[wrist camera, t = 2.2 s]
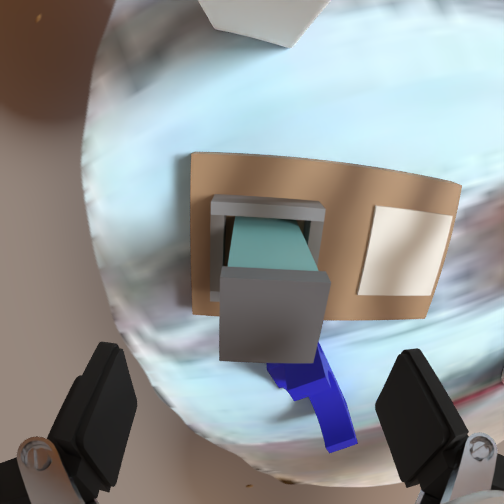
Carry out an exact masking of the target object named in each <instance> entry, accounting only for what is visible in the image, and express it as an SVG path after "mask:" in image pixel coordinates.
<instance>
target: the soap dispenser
mask: <svg viewBox="0 0 504 504" xmlns="http://www.w3.org/2000/svg"><path fill="white" fill-rule="evenodd" d="M330 1H331V0H198V2H199V3H200V5H201V7H202V8H203V10H204V12H205V14H206V15H207V17H208V19H209V20H210V22H211V24H212V26H213V27H214V29H216V30H221V31H226V32H230V33H235V34H239V35H243V36H247V37H251V38H255V39H259V40H263V41H266V42H270V43H273V44H277V45H280V46H283V47H286V48H292V47H294V46H295V44H296V43H297V42H298V40H299V39H300V38H301V37H302V35H303V34H304V33H305V31H306V30H307V29H308V28H309V26H310V25H311V24H312V23H313V22H314V20H315V19H316V18H317V17H318V15H319V14H320V13H321V12H322V11H323V9H324V8H325V7H326V6H327V5H328V3H329V2H330Z"/></svg>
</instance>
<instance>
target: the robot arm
mask: <svg viewBox="0 0 504 504" xmlns="http://www.w3.org/2000/svg"><path fill="white" fill-rule="evenodd" d="M501 378H502V382H503V384H504V369H503V372H502V377H501ZM136 409H137V399H136V395H135V392H134V389H133V385H132V381H131V378H130V374H129V370H128V367H127V363H126V359H125V355H124V351H123V349H120V348H119V347H118V345H117V344H114V343H108V342H100V343H99V344H98V346H97V348H96V350H95V352H94V353H93V355H92V357H91V359H90V361H89V363H88V365H87V367H86V369H85V371H84V373H83V375H82V376H78V377H77V378H76V379H75V381H74V383H73V385H72V387H71V389H70V391H69V393H68V395H67V397H66V399H65V401H64V403H63V405H62V407H61V409H60V411H59V413H58V415H57V417H56V419H55V422H54V424H53V426H52V428H51V430H50V433H49V435H48V437H47V439H45V438H43V437H38V436H36V437H30V438H28V439H26V440H25V441H24V442H23V443H21V444H20V446H19V448H18V451H17V457H16V458H14V459H11V460H8V461H5V462H2V463H0V504H99V503H98V501H97V499H96V498H97V497H98V493H99V490H102V491H106V492H110V488H111V486H113V487H114V486H115V484H116V482H117V479H118V474H119V470H120V467H121V462H122V459H123V455H124V452H125V448H126V444H127V440H128V437H129V433H130V430H131V426H132V423H133V419H134V416H135V412H136ZM375 410H376V413H377V416H378V418H379V421H380V424H381V426H382V429H383V432H384V434H385V437H386V440H387V443H388V445H389V448H390V451H391V454H392V457H393V460H394V462H395V465H396V468H397V471H398V474H399V477H400V480H401V481H402V482H405V485H406V487H407V488H408V487H411V486H414V485H418V484H420V487H421V491H420V493H419V496H418V498H417V500H416V502H415V504H504V456H502V455H500V454H497V446H496V443H495V442H494V440H493V439H492V438H491V437H490V436H489V435H487V434H485V433H474V434H472V435H471V436H470V437H469V436H468V435H467V433H468V432H469V431H468V429H467V428H466V426H465V424H464V422H463V420H462V418H461V417H460V415H459V413H458V411H457V410H456V408H455V406H454V404H453V403H452V401H451V399H450V397H449V396H448V394H447V392H446V391H445V389H444V387H443V385H442V384H441V382H440V381H439V379H438V377H437V376H436V374H435V372H434V371H433V369H432V367H431V366H430V364H429V363H428V361H427V359H426V358H425V356H424V355H423V353H422V352H421V350H420V349H418V348H417V349H408V350H403V351H402V353H401V354H399V355H398V357H397V359H396V361H395V363H394V366H393V368H392V370H391V372H390V374H389V377H388V379H387V381H386V383H385V385H384V387H383V389H382V391H381V393H380V395H379V397H378V399H377V401H376V404H375Z"/></svg>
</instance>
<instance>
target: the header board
mask: <svg viewBox="0 0 504 504" xmlns="http://www.w3.org/2000/svg"><path fill="white" fill-rule="evenodd" d="M461 188H462V185H459V184H457V183H454V182H452V181H447V180H443V179H438V178H433V177H428V176H423V175H418V174H413V173H407V172H402V171H396V170H390V169H384V168H378V167H371V166H365V165H358V164H350V163H343V162H335V161H326V160H318V159H308V158H298V157H287V156H274V155H260V154H243V153H221V152H194V153H192V154H191V185H190V245H191V287H192V312H193V315H206V316H220V275H221V270H222V266H228V260H229V253H230V247H231V240H232V234H233V228H234V221H235V216H246V217H263V218H279V219H294V220H296V221H297V223H298V225H299V228H300V230H301V232H302V234H303V236H304V239H305V241H306V243H307V245H308V248H309V250H310V252H311V254H312V257H313V259H314V261H315V263H316V266H317V268H318V270H319V271H326V273H327V275H328V277H329V279H330V281H331V286H330V291H329V296H328V301H327V306H326V310H325V315H324V319H323V320H400V319H425V317H426V315H427V312H428V309H429V306H430V304H431V301H432V298H433V295H434V292H435V289H436V286H437V283H438V280H439V277H440V274H441V271H442V267H443V264H444V261H445V257H446V253H447V250H448V246H449V242H450V239H451V235H452V231H453V226H454V222H455V218H456V213H457V209H458V204H459V199H460V194H461Z"/></svg>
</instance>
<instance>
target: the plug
mask: <svg viewBox="0 0 504 504" xmlns="http://www.w3.org/2000/svg"><path fill="white" fill-rule="evenodd" d="M330 286H331V281H330V279H329V277H328V275H327V273H326V271H319V270H318V268H317V266H316V263H315V261H314V259H313V257H312V254H311V252H310V250H309V248H308V245H307V243H306V241H305V239H304V236H303V234H302V232H301V230H300V228H299V225H298V223H297V221H296V220H294V219H279V218H263V217H246V216H235V221H234V228H233V234H232V240H231V247H230V253H229V260H228V266H222V270H221V275H220V323H219V361H233V362H255V363H313V362H314V358H315V354H316V349H317V345H318V341H319V337H320V333H321V328H322V324H323V319H324V315H325V310H326V306H327V301H328V296H329V291H330Z"/></svg>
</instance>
